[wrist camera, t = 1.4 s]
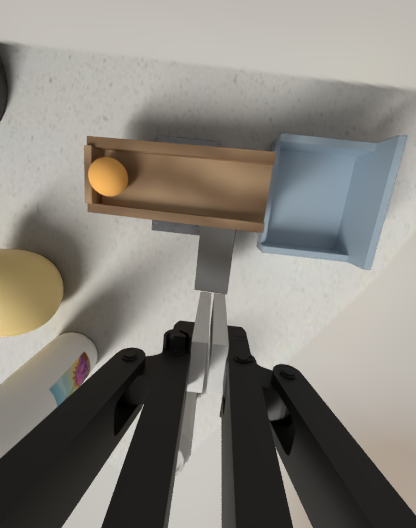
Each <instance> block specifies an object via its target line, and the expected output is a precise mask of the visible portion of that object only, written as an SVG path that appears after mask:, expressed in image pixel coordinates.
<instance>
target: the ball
mask: <svg viewBox="0 0 416 528" xmlns="http://www.w3.org/2000/svg"><path fill="white" fill-rule="evenodd" d="M88 178H89V181H90V184H91V185H92V187H93V188H94V189H95V190H96V191H97V192H98V193H100V194H102V195H104V196H116V195H119V194H121V193H122V192H123V191H124V190H125V189H126V187H127V184H128V174H127V171H126V169H125V168H124V166H123V165H122V164H121V163H120V162H119V161H117V160H116V159H113V158H110V157H102V158H98V159H96V160H95V161H94V162H93V163H92V164H91V165H90V167H89V171H88Z"/></svg>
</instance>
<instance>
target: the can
mask: <svg viewBox="0 0 416 528" xmlns="http://www.w3.org/2000/svg"><path fill="white" fill-rule="evenodd" d="M196 400H197V392H189V391H187V394H186V402H185V409H184V416H183V423H182V430H181V437H180V444H179V451H178V458H177V465H176V472H175V476H176V475H177V474H179V473H180V472H181V471H182V469H183V467H184V464H185V463H186V462H187V461H188V459H189V457H190V455H191V447H192V437H193V428H194V418H195V409H196Z"/></svg>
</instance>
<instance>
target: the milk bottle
mask: <svg viewBox="0 0 416 528" xmlns="http://www.w3.org/2000/svg"><path fill="white" fill-rule="evenodd" d="M96 362H97V350H96V347H95V345H94V344H93V342H92V341H91V340H90V339H89V338H87V337H86V336H84V335H82V334H79V333H65V334H61V335H59V336H58V337H57V338H55V339H54V340H53V341H51V342H50V343H49V344H48V345H47V346H45V347H44V348H43V349H42V350H41V351H39V352H38V353H37V354H36V355H35V356H33V357H32V358H31V359H30V360H29V361H27V362H26V363H25V364H24V365H23V366H21V367H20V368H19V369H18V370H17V371H16V372H14V373H13V374H12V375H11V376H10V377H9V378H7V379H6V380H5V381H4V382H3V383H2V384H1V385H0V458H1V457H2V456H3V455H5V454H6V453H7V452H8V451H9V450H10V449H11V448H12V447H13V446H15V445H16V444H17V443H18V442H19V441H20V440H21V439H22V438H23V437H25V436H26V435H27V434H28V433H29V432H30V431H31V430H32V429H33V428H34V427H36V426H37V425H38V424H39V423H40V422H41V421H42V420H43V419H44V418H46V417H47V416H48V415H49V414H50V413H51V412H52V411H53V410H54V409H56V408H57V407H58V406H59V405H60V404H61V403H62V402H63V401H64V400H65V399H67V398H68V397H69V396H70V395H71V394H72V393H73V392H74V391H75V390H77V389H78V388H79V387H80V386H81V384H82V383H83V382H84V380H85V379H86V378H87V376H88V375H89V374H90V372H91V371H92V369H93V368H94V366H95V365H96Z"/></svg>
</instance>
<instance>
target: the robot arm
mask: <svg viewBox="0 0 416 528" xmlns="http://www.w3.org/2000/svg"><path fill="white" fill-rule="evenodd" d="M6 97H7V82H6V75H5V70H4V67H3V63H2V61H1V58H0V118H1V116H2V114H3V111H4V108H5V104H6ZM210 305H211V293H208V292H201V294H200V299H199V304H198V310H197V315H196V320H195V322H187V321H179V322H177V323H176V324H175V325H174V328H173V329H172V330H169V331H167V332H166V333H165V334H164V341H163V351H162V353H160V354H158V355H154V356H145V352H144V351H143V350H141V349H138V348H126V349H123V350H121V351H119V352H118V353H116V354H115V355H114V356H113V357H112V358H111V359H110V360H109V361H108V362H106V363H105V364H104V365H103V366H102V367H101V368H100V369H99V370H98V371H96V372H95V373H94V374H93V375H92V376H91V377H90V378H89V379H88V380H87V381H85V382H84V383H83V384H82V385H81V386H80V387H79V388H78V389H77V390H75V391H74V392H73V393H72V394H71V395H70V396H69V397H68V398H67V399H65V400H64V401H63V402H62V403H61V404H60V405H59V406H58V407H57V408H56V409H54V410H53V411H52V412H51V413H50V414H49V415H48V416H47V417H46V418H44V419H43V420H42V421H41V422H40V423H39V424H38V425H37V426H36V427H34V428H33V429H32V430H31V431H30V432H29V433H28V434H27V435H26V436H25V437H23V438H22V439H21V440H20V441H19V442H18V443H17V444H16V445H15V446H13V447H12V448H11V449H10V450H9V451H8V452H7V453H6V454H5V455H3V456H2V457H1V458H0V528H61V527H62V526H63V525H64V523H65V522H66V520H67V519H68V517H69V516H70V514H71V513H72V511H73V510H74V508H75V507H76V505H77V503H78V502H79V501H80V499H81V498H82V496H83V495H84V493H85V492H86V490H87V489H88V488H89V486H90V485H91V483H92V482H93V480H94V479H95V477H96V476H97V474H98V473H99V471H100V470H101V468H102V467H103V465H104V464H105V462H106V461H107V459H108V458H109V456H110V455H111V453H112V452H113V450H114V449H115V447H116V446H117V444H118V443H119V442H120V440H121V439H122V437H123V436H124V434H125V433H126V431H127V430H128V428H129V427H130V425H131V424H132V422H133V421H134V419H135V418H136V416H137V415H138V413H139V412H140V410H141V409H142V406H143V404H144V406H143V409H142V412H141V415H140V418H139V420H138V423H137V426H136V429H135V432H134V435H133V438H132V441H131V443H130V446H129V449H128V452H127V455H126V458H125V461H124V464H123V467H122V469H121V472H120V475H119V478H118V481H117V484H116V487H115V490H114V492H113V496H112V498H111V501H110V504H109V507H108V510H107V513H106V516H105V518H104V522H103V524H102V527H101V528H168V522H169V515H170V507H171V500H172V493H173V487H174V479H175V472H176V465H177V458H178V451H179V444H180V437H181V430H182V423H183V416H184V409H185V402H186V394H187V391H189V392H197V393H202V388H203V380H204V372H205V363H206V355H207V346H208V334H209V320H210ZM222 390H223V397H222V404H221V411H220V417H222V528H293V525H292V520H291V516H290V511H289V507H288V502H287V498H286V493H285V489H284V485H283V480H282V476H281V471H280V466H279V462H278V458H277V453H276V449H277V451H278V453H279V456H280V458H281V460H282V462H283V464H284V466H285V468H286V471H287V472H288V475H289V477H290V479H291V481H292V484H293V486H294V488H295V490H296V492H297V494H298V496H299V499H300V501H301V503H302V505H303V507H304V509H305V512H306V514H307V516H308V518H309V520H310V522H311V525H312V526H313V528H416V515H415V514H414V513H413V512H412V510H411V509H410V508H409V507H408V505H407V504H406V503H405V502H404V500H403V499H402V498H401V497H400V495H399V494H398V493H397V492H396V490H395V489H394V488H393V487H392V485H391V484H390V483H389V482H388V481H387V479H386V478H385V477H384V475H383V474H382V473H381V472H380V471H379V469H378V468H377V467H376V465H375V464H374V463H373V462H372V461H371V459H370V458H369V457H368V456H367V454H366V453H365V452H364V451H363V449H362V448H361V447H360V446H359V444H358V443H357V442H356V441H355V440H354V438H353V437H352V436H351V435H350V433H349V432H348V431H347V429H346V428H345V427H344V426H343V424H342V423H341V422H340V421H339V419H338V418H337V417H336V416H335V414H334V413H333V412H332V411H331V410H330V408H329V407H328V406H327V405H326V403H325V402H324V401H323V400H322V398H321V397H320V396H319V395H318V393H317V392H316V391H315V390H314V389H313V387H312V386H311V385H310V384H309V382H308V381H307V380H306V379H305V377H304V376H303V375H302V374H301V373H300V372H299V371H298V370H297V369H295V368H294V367H292V366H289V365H284V364H279V365H276V366H274V368H273V371H272V370H269V369H266V368H263V367H261V366H259V365H258V364H257V363H256V360H255V358H254V357H253V356H252V355H251V353H250V349H249V344H248V340H247V335H246V332H245V330H244V329H243V328H242V327H236V326H227V316H226V303H225V294H216V293H214V300H213V308H212V317H211V325H210V339H209V356H208V373H207V390H206V394H214V395H222ZM275 447H276V448H275Z"/></svg>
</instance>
